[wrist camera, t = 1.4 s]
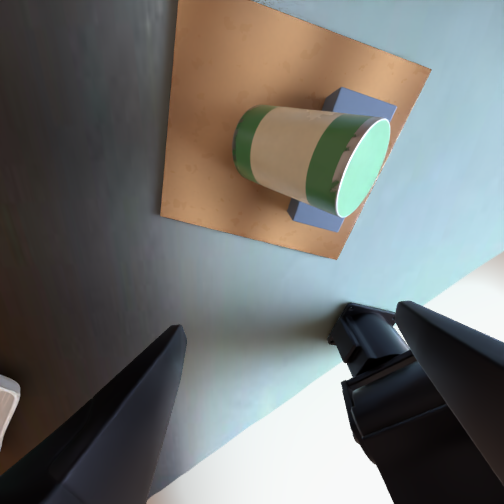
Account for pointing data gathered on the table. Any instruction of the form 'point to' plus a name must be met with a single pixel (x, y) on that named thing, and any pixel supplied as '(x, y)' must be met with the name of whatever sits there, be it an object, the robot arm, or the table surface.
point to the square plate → (7, 402)
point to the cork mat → (261, 93)
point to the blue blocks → (349, 104)
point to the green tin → (311, 154)
